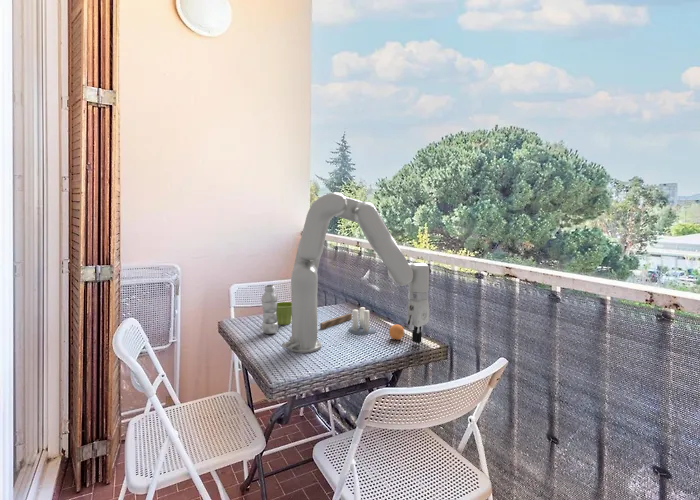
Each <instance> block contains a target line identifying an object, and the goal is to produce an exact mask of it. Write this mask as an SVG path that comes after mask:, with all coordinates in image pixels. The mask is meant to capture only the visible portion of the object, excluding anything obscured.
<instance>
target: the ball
mask: <svg viewBox="0 0 700 500" xmlns="http://www.w3.org/2000/svg"><path fill="white" fill-rule="evenodd" d="M388 333H389V336H390V338H392V339H393V340H395V339H396V340H397V341H398V340H401V339H402V338H403V337H404V336H405V329H404V327H403V326H402V325H400V324H398V323H397V324H393V325H391V326H390V328H389V330H388ZM396 340H395V341H396Z"/></svg>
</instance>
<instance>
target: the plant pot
mask: <svg viewBox="0 0 700 500" xmlns="http://www.w3.org/2000/svg"><path fill="white" fill-rule="evenodd" d="M276 315H277V323H278V326H282V325H285V326H288V325H289V324H292V302H291V301H290V302H289V301H281V302H280V301H279V302H277V310H276Z"/></svg>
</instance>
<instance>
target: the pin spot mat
mask: <svg viewBox="0 0 700 500" xmlns="http://www.w3.org/2000/svg"><path fill="white" fill-rule="evenodd" d="M370 327H371V329H369V331H368V332H364V331H363V328H359V325H358V331H352V326H351V327H349V328H348V329H347V331H348V332H349V333H351V334H353V335H357V336H368V334H370V335H373V333H374V334H375V333H377V329H376V328H375V330H374V329H373V328H374V327H373V326H370ZM372 327H373V328H372Z"/></svg>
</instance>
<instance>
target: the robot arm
mask: <svg viewBox="0 0 700 500" xmlns="http://www.w3.org/2000/svg"><path fill="white" fill-rule="evenodd" d="M334 217H338V218H341V219H344V220H347V221H351V222H354V223H357V224H358V225H359V228H360V229H361V232H363V235H364V236H365V238H366V240H367V241H368V244H369V245H370V247H371V248H372V250H373V251H374V252H375V253H376V254H377V255H378V257H379V259H381V261H382V262H383V264H384V265H385V266H386V269H387V275H388V277H389V278H390V280H392V281H393V282H394V283H395V284H396V285H398V286H401V287H402V286H403V287H404V286H405V287H406V286H408V297H407V299H408V302H407V303H408V304H407V311H406V324H407V325H408V330H410V331H411V335H412V337H411V342H413V343H416V344H420V343H422V339H423V338H422V337H423V336H422V335H423V334H422V333H423V329H424V328H423V327H424V326H425V325H427V324H428V323H429V322H430V302H429V289H430V288H429V286H430V266H429V265H428V264H427V263H424V262H413V263H411V262H410V263H409V261H408V260H407V258H406V257H405V254H403V253H404V252H402V250H401V249H400V247H399V246H398V244H397V243H396V240H395V238H394V237H393V236H392V234H391V233H390V231H389V228H388V227H387V226H386V223H385V222H384V220H383V218H382V215H380V213H379V211H378V209H377V208H376V206H375V205H374V204H373V203H372V202H369V201H361V200H358V199H354V198H351V197H348V196H345V195H344V194H343V193H341V192H338V191H337V192H336V191H335V192H329V193H325V194H324V195H322V196H320V197H318V198H317V199H315V201H314V202H313V203H312V204H311V206H310V207H309V209H308V211H307V214H306V217H305V222H304V225H303V228H302V234H301V236H300V239H299V242H298V245H297V250H296V253H295V258H294V262H293V263H294V264H293V268H292V271H291V276H290V290H291V292H290V293H291V294H290V295H291V296H290V297H291V301H290V302H291V303H292V316H291V336H290V337H289V339H288V341H285V342H282V343H281V346H282V348H283V349H286V348H287V349H288V350H289V351H291V352H293V353H300V354H301V353H302V354H306V353H307V354H308V353H313V352H316V351H318V350H320V349H321V348H322V342H321V341H320V340H318V288H319V287H318V285H319V282H318V281H319V276H318V270H319V267H320V266H319V265H320V261H321V256H322V255H323V252H324V246H325V242H326V241H325V240H326V235H327V232H328V228H329V224H330V222H331V220H332V219H333V218H334Z"/></svg>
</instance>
